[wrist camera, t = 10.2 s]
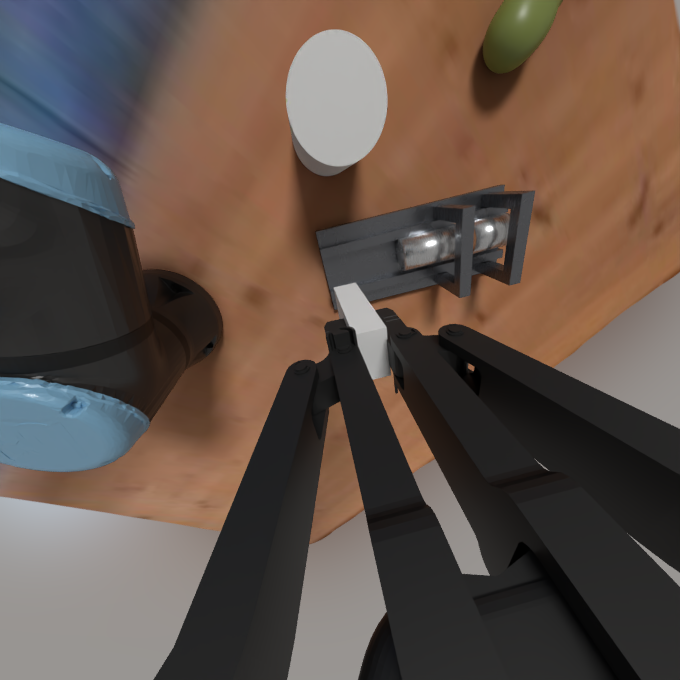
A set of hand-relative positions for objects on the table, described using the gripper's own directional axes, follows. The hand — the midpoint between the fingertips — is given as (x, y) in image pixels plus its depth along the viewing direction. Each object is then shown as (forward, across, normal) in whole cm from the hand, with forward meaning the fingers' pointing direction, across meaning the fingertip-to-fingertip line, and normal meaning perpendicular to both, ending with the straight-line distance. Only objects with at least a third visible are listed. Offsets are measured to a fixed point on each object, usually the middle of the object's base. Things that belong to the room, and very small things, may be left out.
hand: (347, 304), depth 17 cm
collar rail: (+22, +14, -4) cm, 26 cm away
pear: (+23, +26, +18) cm, 39 cm away
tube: (+21, +18, -3) cm, 28 cm away
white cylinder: (+23, +4, +12) cm, 26 cm away
